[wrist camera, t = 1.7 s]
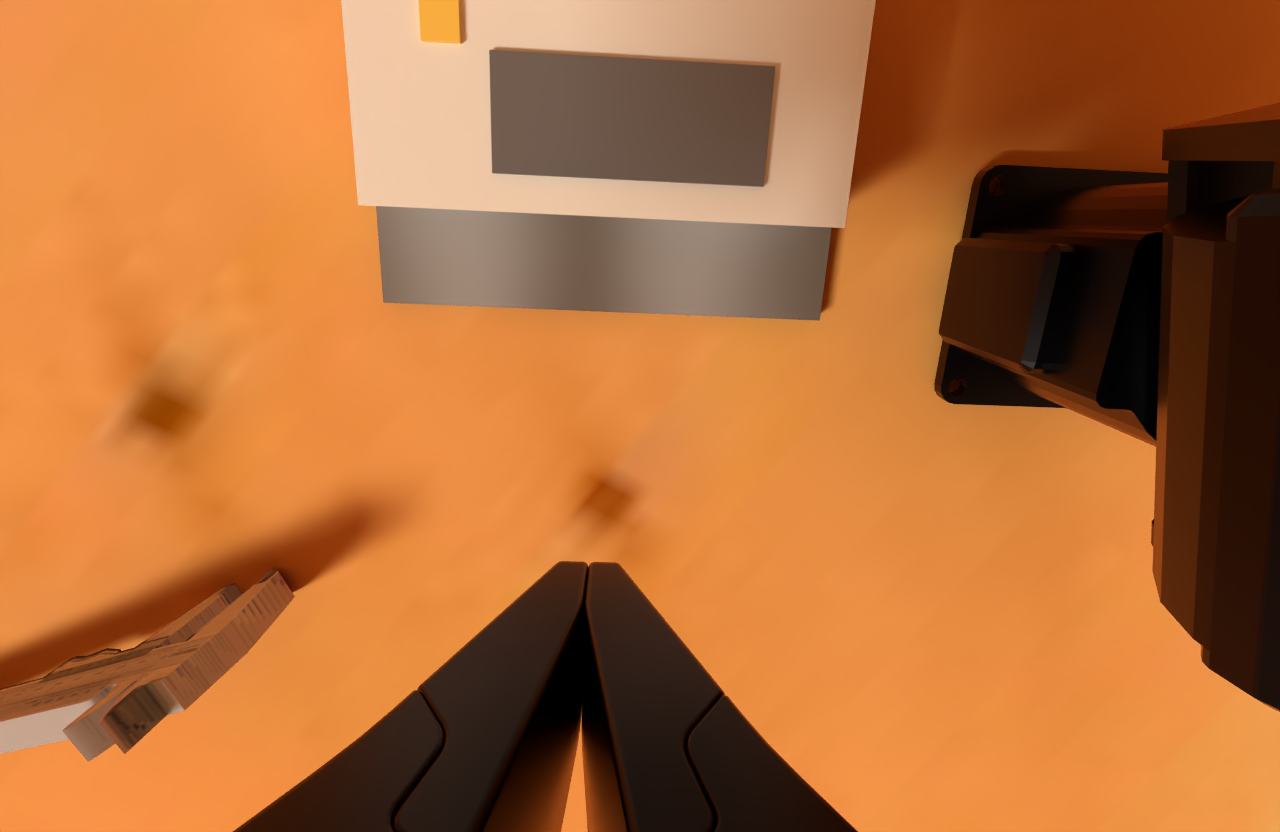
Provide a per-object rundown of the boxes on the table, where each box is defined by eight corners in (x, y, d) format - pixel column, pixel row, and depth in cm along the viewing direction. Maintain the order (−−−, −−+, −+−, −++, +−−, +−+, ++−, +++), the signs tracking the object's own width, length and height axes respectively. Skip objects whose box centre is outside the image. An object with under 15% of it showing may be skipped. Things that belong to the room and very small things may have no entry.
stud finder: (839, 12, 16) (881, -27, 13) (813, 226, 17) (847, 228, 15) (381, -16, 15) (333, -63, 13) (395, 206, 17) (355, 205, 14)
